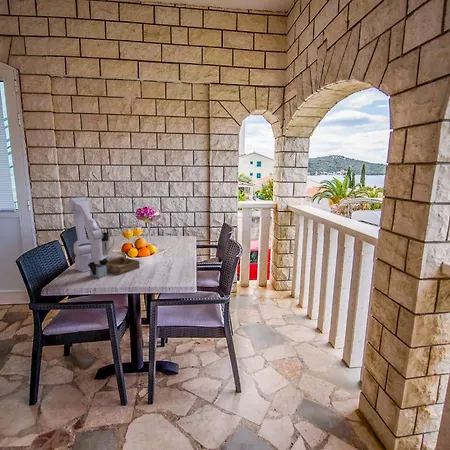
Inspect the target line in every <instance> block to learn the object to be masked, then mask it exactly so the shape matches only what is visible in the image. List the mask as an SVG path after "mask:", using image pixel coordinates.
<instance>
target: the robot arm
mask: <svg viewBox="0 0 450 450" xmlns="http://www.w3.org/2000/svg"><path fill="white" fill-rule="evenodd" d="M67 203H68V210H69V212H70V213H71V214H72V216H73V220H74V226H75V231H76V237H77V240H76V241H75V242H74V243H73V253H74V255H75V257H74V264H75V265H74V266H75V268H74V270H75V271H78V272H83V273H84V272H87V271H88V272H89V271H90V269H91V271H92V274H93V275H96V265H97V264H98V263H97V262H99V264H101V265H105V266H106V264H107V262H108V261H109V260H108V259H110V254H107V255H103V253H102V238H103V233H104V232H103V230H102V229H101V228H100V227H99V226H98V224H97V222H96V220H95V219H94V218H92V215H91V213H90V212H91V211H90V209H89V206H90V200H89V198H88V197H87V196H83V197H70V198H69V199H68V202H67ZM86 231H87V232H88V235H87V234H86Z"/></svg>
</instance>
